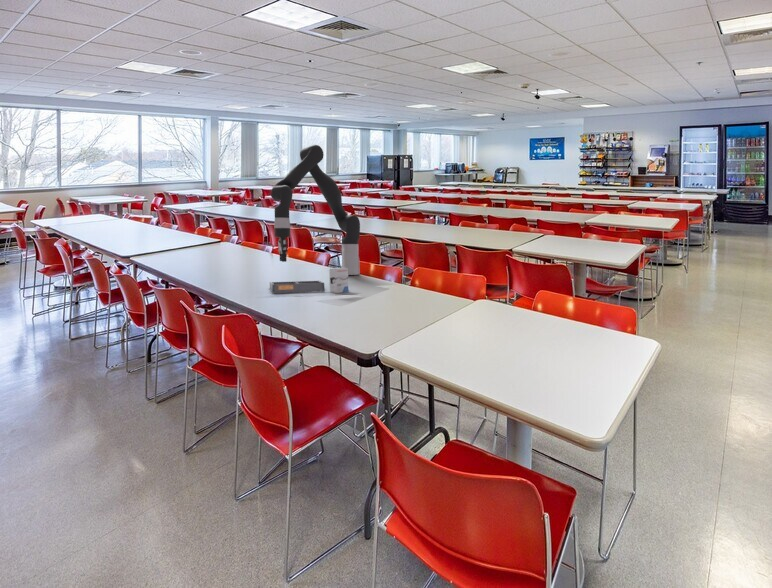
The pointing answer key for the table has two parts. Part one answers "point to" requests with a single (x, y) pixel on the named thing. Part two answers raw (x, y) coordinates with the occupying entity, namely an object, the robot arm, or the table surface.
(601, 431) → the table surface
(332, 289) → the ink box
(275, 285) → the tray
